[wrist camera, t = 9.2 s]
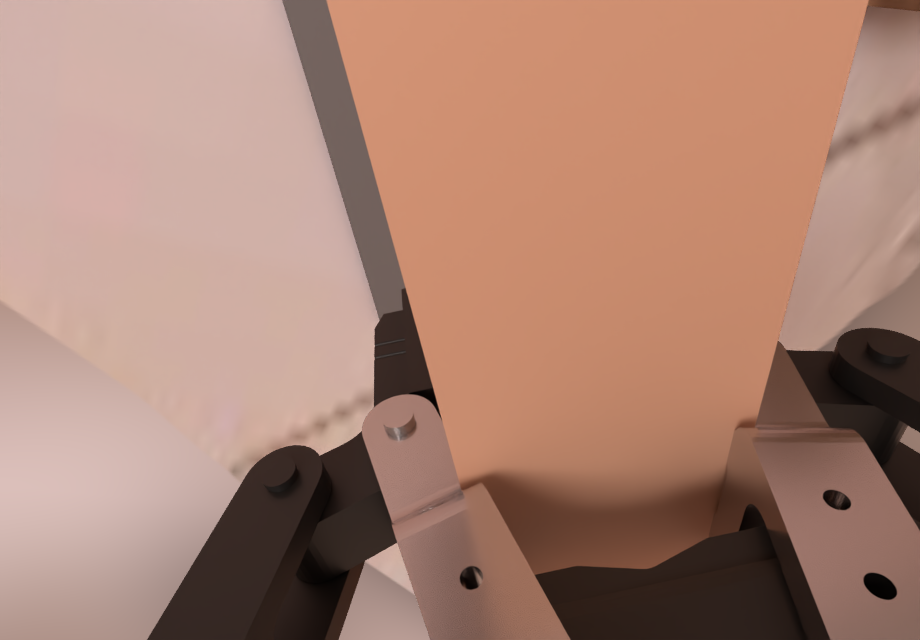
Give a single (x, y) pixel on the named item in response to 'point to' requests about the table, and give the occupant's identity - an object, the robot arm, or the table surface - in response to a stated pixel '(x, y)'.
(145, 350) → the table surface
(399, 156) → the terracotta block
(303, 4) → the rubber mat
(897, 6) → the walnut rack
